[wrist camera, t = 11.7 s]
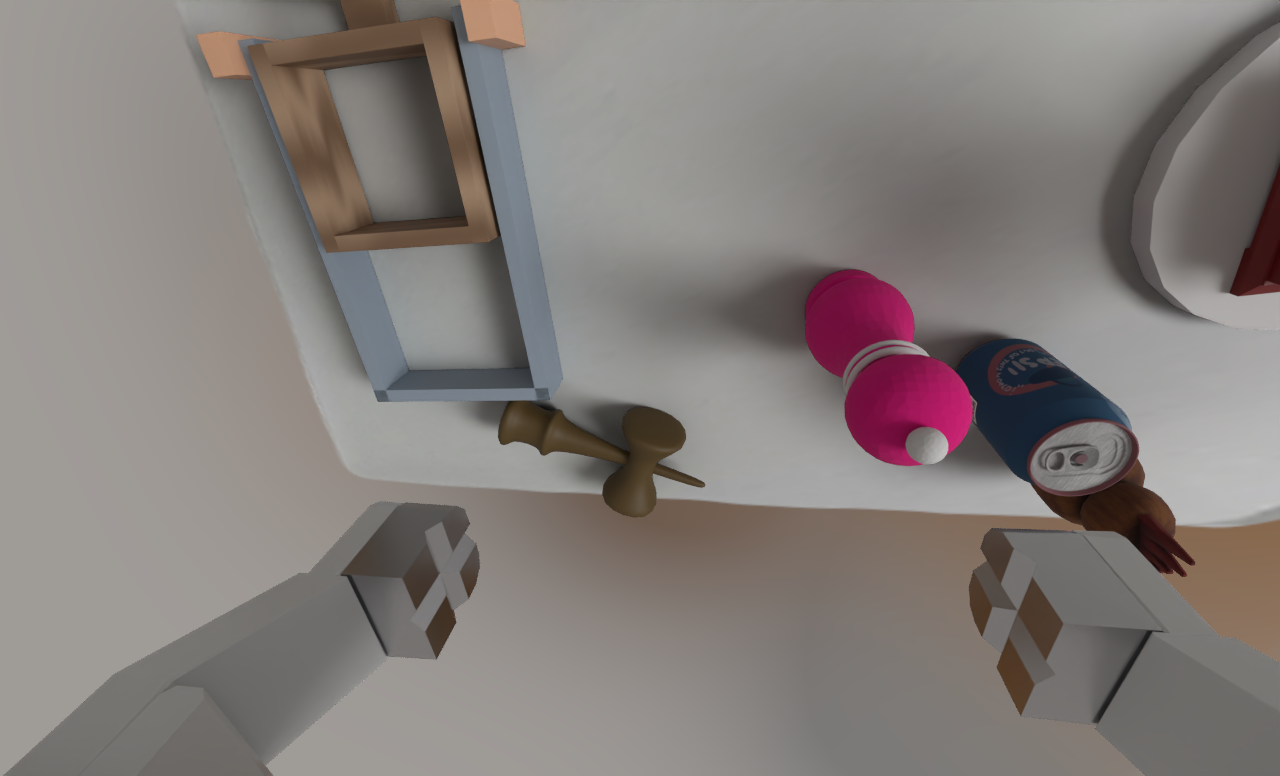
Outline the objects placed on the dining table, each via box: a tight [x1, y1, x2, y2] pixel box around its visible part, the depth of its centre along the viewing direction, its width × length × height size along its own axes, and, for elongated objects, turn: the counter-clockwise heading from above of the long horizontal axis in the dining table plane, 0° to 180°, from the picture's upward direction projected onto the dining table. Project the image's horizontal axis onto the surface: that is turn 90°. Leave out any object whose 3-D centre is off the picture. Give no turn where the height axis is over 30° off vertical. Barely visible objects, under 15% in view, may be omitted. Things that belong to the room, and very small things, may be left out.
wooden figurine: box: [1031, 459, 1195, 577], centre depth 37 cm, size 7×6×15 cm
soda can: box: [956, 339, 1139, 496], centre depth 36 cm, size 7×7×12 cm
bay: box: [196, 0, 563, 402], centre depth 40 cm, size 28×20×5 cm
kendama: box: [498, 400, 705, 517], centre depth 48 cm, size 6×10×20 cm
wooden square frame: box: [247, 0, 501, 253], centre depth 35 cm, size 19×13×7 cm
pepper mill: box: [805, 270, 973, 466], centre depth 32 cm, size 7×7×20 cm
